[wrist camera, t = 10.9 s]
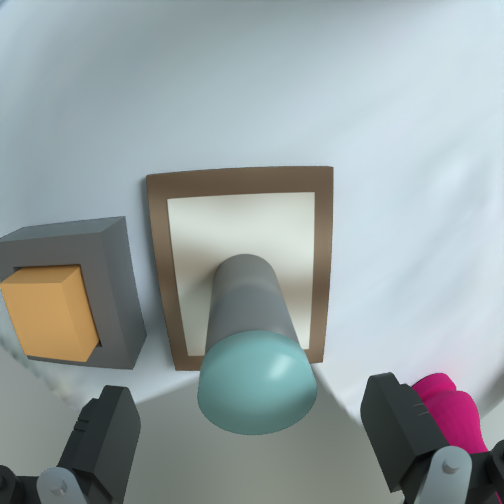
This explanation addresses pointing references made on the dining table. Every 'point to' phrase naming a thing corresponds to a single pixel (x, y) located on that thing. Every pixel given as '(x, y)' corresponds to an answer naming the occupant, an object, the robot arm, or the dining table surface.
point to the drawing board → (241, 245)
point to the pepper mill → (452, 412)
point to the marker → (252, 353)
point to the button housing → (88, 280)
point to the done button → (51, 311)
